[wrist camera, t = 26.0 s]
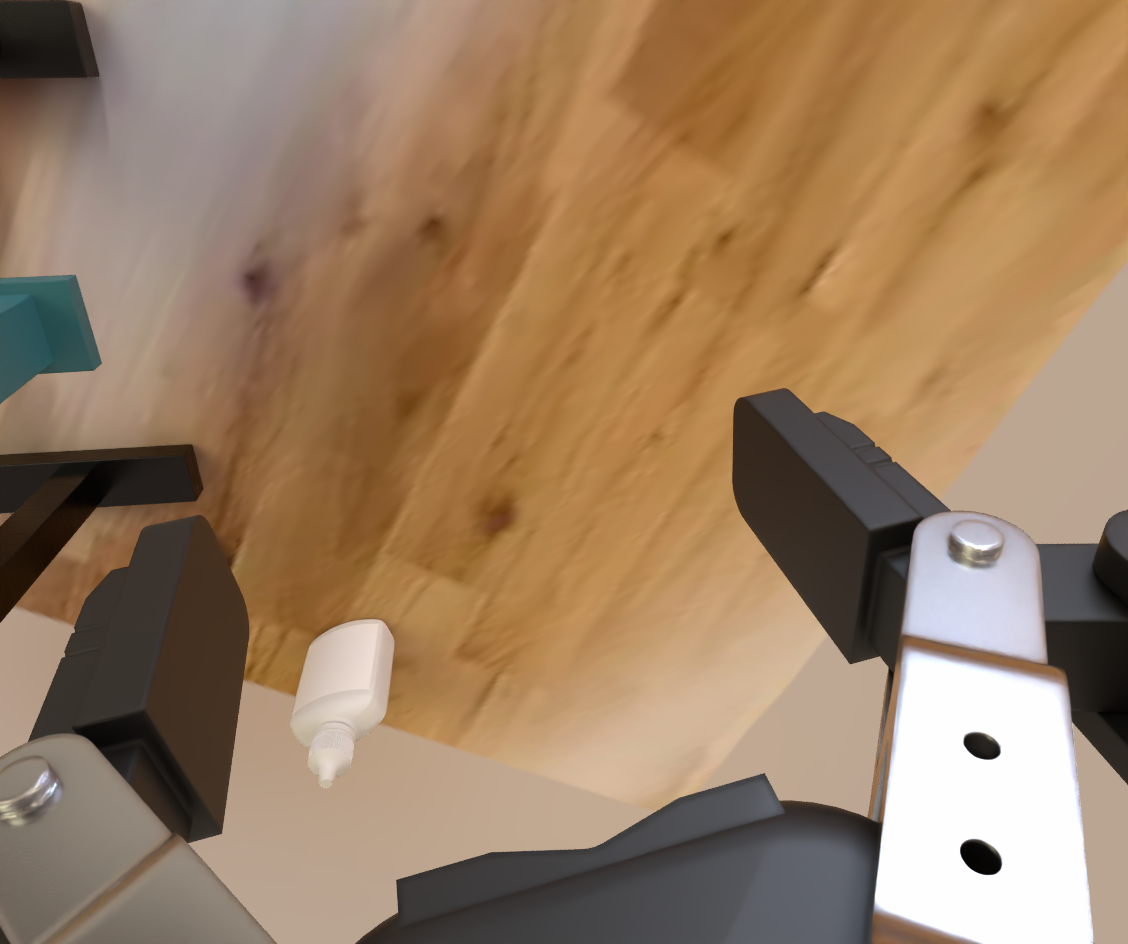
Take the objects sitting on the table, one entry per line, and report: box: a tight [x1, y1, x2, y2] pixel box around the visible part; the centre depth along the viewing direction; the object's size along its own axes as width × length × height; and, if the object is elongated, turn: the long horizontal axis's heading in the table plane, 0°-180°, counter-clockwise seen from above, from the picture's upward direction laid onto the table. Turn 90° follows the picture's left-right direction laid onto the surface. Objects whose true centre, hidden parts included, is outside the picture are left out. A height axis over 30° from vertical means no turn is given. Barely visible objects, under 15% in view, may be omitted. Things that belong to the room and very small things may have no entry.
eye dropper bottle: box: [290, 619, 395, 788], centre depth 48 cm, size 4×6×12 cm
